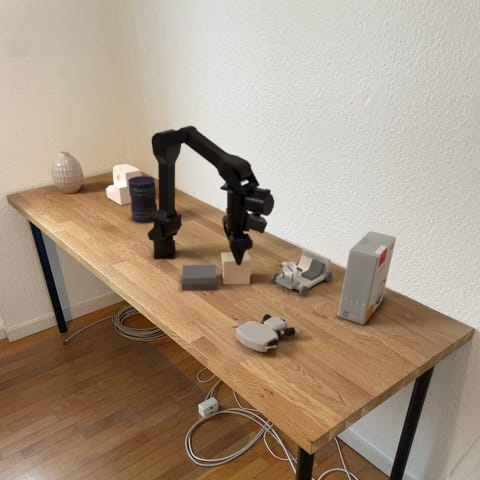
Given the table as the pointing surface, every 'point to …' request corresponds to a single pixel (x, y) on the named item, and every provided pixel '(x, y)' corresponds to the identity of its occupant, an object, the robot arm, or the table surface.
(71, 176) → the vase
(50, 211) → the table surface
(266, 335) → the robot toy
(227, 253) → the cream rectangular block
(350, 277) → the hard drive box
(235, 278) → the beige block
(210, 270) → the grey books
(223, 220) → the robot arm
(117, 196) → the tape dispenser
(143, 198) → the storage jar
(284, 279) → the toy car
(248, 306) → the table surface
